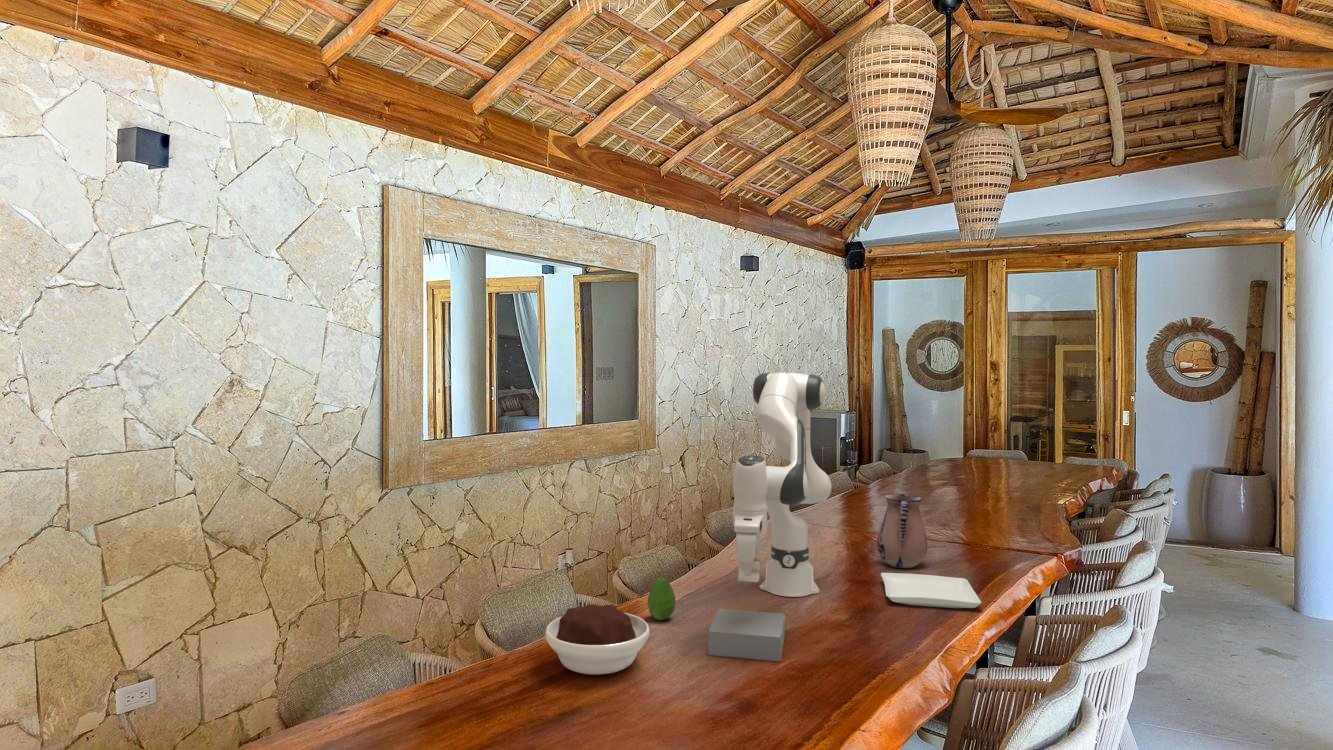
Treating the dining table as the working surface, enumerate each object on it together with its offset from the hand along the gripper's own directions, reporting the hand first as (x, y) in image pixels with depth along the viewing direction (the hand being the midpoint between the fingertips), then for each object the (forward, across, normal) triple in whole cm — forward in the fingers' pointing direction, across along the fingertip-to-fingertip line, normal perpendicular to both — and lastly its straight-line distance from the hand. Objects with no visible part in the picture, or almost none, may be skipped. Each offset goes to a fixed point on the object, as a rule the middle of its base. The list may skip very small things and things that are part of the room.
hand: (749, 572), depth 205 cm
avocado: (+19, -14, -26) cm, 35 cm away
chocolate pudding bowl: (+19, +22, -34) cm, 45 cm away
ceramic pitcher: (+19, -89, +46) cm, 102 cm away
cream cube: (+2, 0, 0) cm, 2 cm away
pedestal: (+19, 0, 0) cm, 19 cm away
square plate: (+20, -55, +51) cm, 77 cm away
